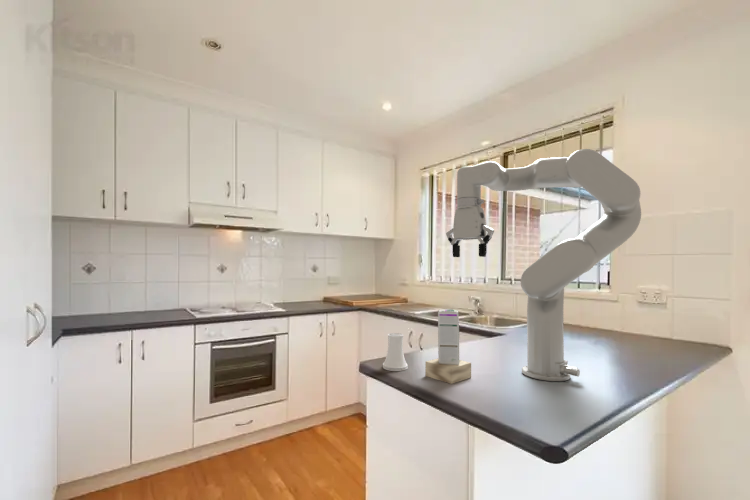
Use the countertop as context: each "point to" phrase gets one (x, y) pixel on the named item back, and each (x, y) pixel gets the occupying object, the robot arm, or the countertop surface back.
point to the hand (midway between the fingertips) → (469, 256)
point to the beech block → (448, 371)
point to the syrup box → (448, 336)
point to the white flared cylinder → (395, 353)
